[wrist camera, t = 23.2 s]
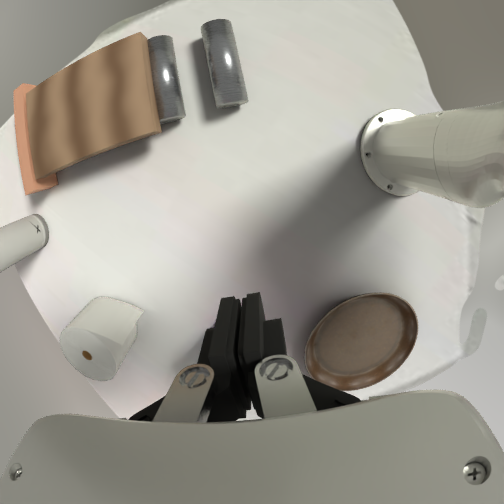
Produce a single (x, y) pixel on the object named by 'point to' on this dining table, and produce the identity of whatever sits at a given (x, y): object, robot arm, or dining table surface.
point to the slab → (92, 106)
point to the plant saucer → (361, 341)
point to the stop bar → (27, 145)
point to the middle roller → (165, 79)
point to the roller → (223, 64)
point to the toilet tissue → (100, 337)
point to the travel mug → (22, 239)
